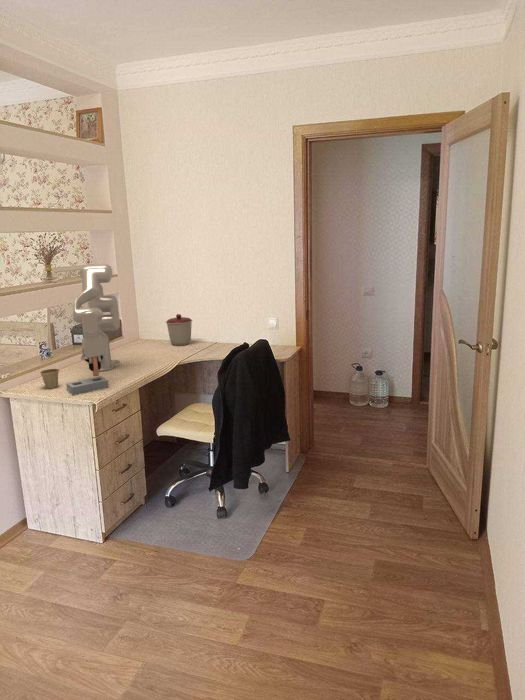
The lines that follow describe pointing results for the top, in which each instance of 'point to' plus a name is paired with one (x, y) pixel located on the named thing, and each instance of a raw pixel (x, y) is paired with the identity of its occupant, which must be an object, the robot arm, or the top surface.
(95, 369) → the peg
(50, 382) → the flower pot
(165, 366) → the top surface
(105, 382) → the socket block
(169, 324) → the canister
